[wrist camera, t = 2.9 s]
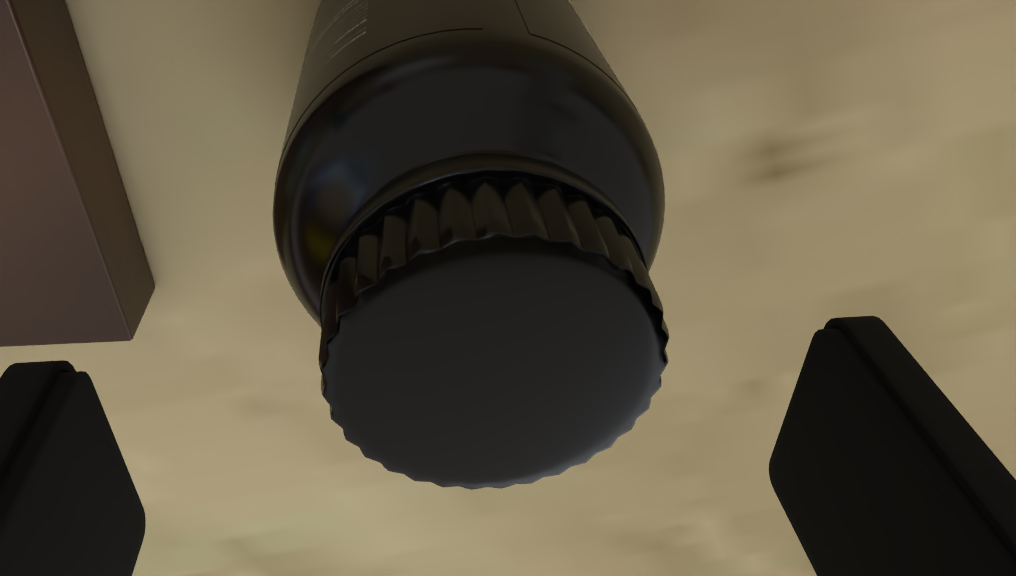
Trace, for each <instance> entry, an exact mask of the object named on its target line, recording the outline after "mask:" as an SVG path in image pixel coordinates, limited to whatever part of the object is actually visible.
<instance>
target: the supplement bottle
mask: <svg viewBox="0 0 1016 576" xmlns="http://www.w3.org/2000/svg"><path fill="white" fill-rule="evenodd" d="M664 210H665V193H664V182H663V175H662V169H661V165H660V161H659V157H658V154H657V151H656V149H655V146H654V144H653V141H652V138H651V136H650V134H649V132H648V130H647V128H646V126H645V124H644V122H643V120H642V118H641V116H640V114H639V113H638V111H637V109H636V107H635V106H634V104H633V102H632V101H631V99H630V98H629V96H628V94H627V93H626V91H625V90H624V88H623V86H622V85H621V83H620V82H619V80H618V78H617V77H616V75H615V74H614V72H613V71H612V69H611V67H610V66H609V64H608V63H607V61H606V59H605V58H604V56H603V55H602V53H601V52H600V50H599V48H598V47H597V45H596V44H595V42H594V40H593V39H592V37H591V36H590V34H589V33H588V31H587V29H586V28H585V26H584V25H583V23H582V21H581V20H580V18H579V17H578V15H577V14H576V12H575V10H574V9H573V7H572V6H571V4H570V2H569V1H568V0H322V2H321V5H320V7H319V9H318V12H317V15H316V18H315V22H314V25H313V28H312V31H311V34H310V38H309V42H308V46H307V50H306V54H305V58H304V62H303V67H302V71H301V75H300V79H299V83H298V87H297V91H296V95H295V99H294V103H293V108H292V112H291V116H290V120H289V124H288V128H287V132H286V136H285V140H284V145H283V149H282V153H281V157H280V161H279V166H278V171H277V177H276V182H275V190H274V202H273V227H274V235H275V241H276V247H277V251H278V254H279V258H280V261H281V264H282V267H283V270H284V272H285V274H286V277H287V279H288V281H289V283H290V285H291V287H292V289H293V290H294V292H295V294H296V296H297V298H298V299H299V301H300V302H301V303H302V305H303V306H304V308H305V309H306V310H307V312H308V313H309V314H310V316H311V317H312V318H313V319H314V320H315V321H316V322H317V324H318V325H319V326H320V327H321V329H322V332H321V341H320V351H319V366H320V370H321V373H322V378H321V391H322V395H323V397H324V398H325V399H326V401H327V402H328V403H329V404H330V415H331V419H332V420H333V421H334V422H335V423H337V424H338V425H339V426H340V427H342V428H343V432H344V436H345V439H346V440H347V441H349V442H351V443H353V444H354V445H356V446H358V447H360V449H361V451H362V453H363V455H364V456H365V457H366V458H369V459H372V460H375V461H378V462H380V463H381V464H382V465H383V466H384V467H385V468H386V469H387V470H388V471H392V472H396V473H402V474H405V475H406V476H408V477H409V478H411V479H412V480H414V481H423V482H432V483H435V484H436V485H439V486H441V487H453V486H460V487H464V488H468V489H478V488H483V487H494V488H505V487H508V486H511V485H514V484H527V483H533V482H535V481H537V480H539V479H541V478H543V477H547V476H553V475H559V474H561V473H562V472H564V471H565V470H567V469H568V468H570V467H572V466H575V465H579V464H582V463H585V462H587V461H588V460H589V459H590V458H591V457H592V456H593V455H595V454H596V453H598V452H600V451H603V450H605V449H607V448H610V447H611V446H612V445H613V443H614V442H615V441H616V439H617V438H618V437H619V436H621V435H623V434H625V433H626V432H628V431H629V430H631V429H632V427H633V425H634V423H635V421H636V419H637V418H638V417H639V416H640V415H642V414H643V413H644V412H645V411H647V410H648V409H649V406H650V401H651V397H652V396H653V395H654V394H655V393H656V392H657V390H658V389H659V388H660V387H661V376H660V375H661V373H662V372H663V370H664V369H665V367H666V365H667V363H668V357H667V353H666V350H665V348H666V345H667V342H668V339H669V333H668V328H667V326H666V323H665V321H664V319H663V307H662V303H661V301H660V298H659V296H658V294H657V292H656V290H655V287H654V285H653V283H652V281H651V279H650V277H649V270H650V268H651V266H652V263H653V261H654V258H655V255H656V252H657V248H658V245H659V242H660V238H661V233H662V227H663V222H664Z"/></svg>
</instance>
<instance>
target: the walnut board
mask: <svg viewBox="0 0 1016 576" xmlns="http://www.w3.org/2000/svg"><path fill="white" fill-rule="evenodd" d="M154 289H155V286H154V283H153V279H152V276H151V273H150V270H149V267H148V264H147V261H146V257H145V254H144V251H143V248H142V245H141V242H140V238H139V235H138V232H137V229H136V226H135V223H134V219H133V216H132V213H131V210H130V207H129V204H128V200H127V197H126V194H125V191H124V188H123V185H122V182H121V178H120V175H119V172H118V169H117V166H116V163H115V159H114V156H113V153H112V150H111V147H110V144H109V140H108V137H107V134H106V131H105V128H104V125H103V121H102V118H101V115H100V112H99V109H98V106H97V103H96V99H95V96H94V93H93V90H92V87H91V84H90V80H89V77H88V74H87V71H86V68H85V65H84V61H83V58H82V55H81V52H80V49H79V46H78V42H77V39H76V36H75V33H74V30H73V27H72V24H71V20H70V17H69V14H68V11H67V8H66V5H65V1H64V0H0V347H4V346H26V345H47V344H69V343H91V342H113V341H130V340H132V339H133V337H134V335H135V332H136V330H137V328H138V326H139V323H140V321H141V319H142V316H143V314H144V312H145V310H146V307H147V305H148V303H149V301H150V298H151V296H152V294H153V292H154Z"/></svg>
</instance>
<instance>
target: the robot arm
mask: <svg viewBox="0 0 1016 576" xmlns="http://www.w3.org/2000/svg"><path fill="white" fill-rule="evenodd" d="M769 475H770V480H771V484H772V486H773V489H774V491H775V493H776V495H777V497H778V499H779V501H780V503H781V505H782V507H783V509H784V511H785V513H786V515H787V517H788V519H789V521H790V523H791V525H792V527H793V529H794V531H795V533H796V534H797V536H798V538H799V540H800V542H801V544H802V546H803V548H804V550H805V552H806V554H807V556H808V558H809V560H810V562H811V564H812V566H813V568H814V570H815V572H816V574H817V576H1016V480H1015V479H1014V477H1013V476H1012V475H1011V474H1010V473H1009V471H1008V470H1007V469H1006V468H1005V467H1004V465H1003V464H1002V463H1001V462H1000V461H999V459H998V458H997V457H996V456H995V455H994V453H993V452H992V451H991V450H990V449H989V447H988V446H987V445H986V444H985V443H984V441H983V440H982V439H981V438H980V437H979V435H978V434H977V433H976V432H975V431H974V429H973V428H972V427H971V426H970V425H969V423H968V422H967V421H966V420H965V419H964V417H963V416H962V415H961V414H960V413H959V411H958V410H957V409H956V408H955V407H954V405H953V404H952V403H951V402H950V401H949V399H948V398H947V397H946V396H945V395H944V394H943V392H942V391H941V390H940V389H939V388H938V386H937V385H936V384H935V383H934V382H933V380H932V379H931V378H930V377H929V376H928V374H927V373H926V372H925V371H924V370H923V368H922V367H921V366H920V365H919V364H918V362H917V361H916V360H915V359H914V358H913V356H912V355H911V354H910V353H909V352H908V350H907V349H906V348H905V347H904V346H903V344H902V343H901V342H900V341H899V340H898V338H897V337H896V336H895V335H894V334H893V332H892V331H891V330H890V329H889V328H888V326H887V325H886V324H885V323H884V322H883V321H882V320H881V319H880V318H878V317H875V316H862V317H843V318H833V319H830V320H829V321H828V322H827V323H826V325H825V327H824V329H821V330H818V331H817V332H815V334H814V336H813V338H812V341H811V343H810V346H809V349H808V352H807V355H806V358H805V361H804V364H803V366H802V369H801V372H800V375H799V378H798V381H797V384H796V387H795V389H794V392H793V395H792V398H791V401H790V404H789V407H788V410H787V412H786V415H785V418H784V421H783V424H782V427H781V430H780V433H779V435H778V438H777V441H776V444H775V447H774V450H773V453H772V456H771V458H770V463H769ZM144 534H145V512H144V509H143V506H142V504H141V501H140V499H139V496H138V494H137V491H136V489H135V486H134V484H133V481H132V479H131V476H130V474H129V471H128V469H127V467H126V464H125V462H124V459H123V457H122V454H121V452H120V449H119V447H118V444H117V442H116V439H115V437H114V434H113V432H112V430H111V427H110V425H109V422H108V420H107V417H106V415H105V412H104V410H103V407H102V405H101V402H100V400H99V397H98V395H97V393H96V390H95V388H94V385H93V383H92V380H91V378H90V376H89V375H88V374H87V373H86V372H82V371H80V372H76V371H75V369H74V367H73V366H72V365H71V364H70V363H69V362H68V361H45V362H27V363H15V364H12V365H10V366H9V367H8V368H7V369H6V370H5V372H4V373H3V375H2V376H1V378H0V576H132V573H133V570H134V567H135V564H136V561H137V557H138V554H139V551H140V548H141V545H142V542H143V538H144Z"/></svg>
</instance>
